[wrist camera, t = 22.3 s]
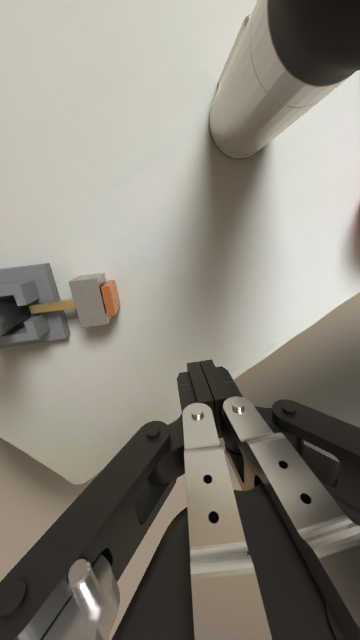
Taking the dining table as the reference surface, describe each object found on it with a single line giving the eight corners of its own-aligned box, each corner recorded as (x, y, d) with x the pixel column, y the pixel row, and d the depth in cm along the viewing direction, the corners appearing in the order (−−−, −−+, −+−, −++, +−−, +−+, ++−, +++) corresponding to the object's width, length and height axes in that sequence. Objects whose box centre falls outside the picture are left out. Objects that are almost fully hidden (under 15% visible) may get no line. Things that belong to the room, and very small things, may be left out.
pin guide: (79, 276, 37) (68, 281, 32) (104, 272, 37) (97, 278, 32) (90, 316, 39) (81, 328, 34) (113, 313, 40) (107, 324, 35)
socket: (-32, 272, 35) (-68, 279, 29) (49, 263, 36) (30, 267, 30) (-2, 343, 39) (-28, 361, 33) (70, 333, 40) (56, 349, 34)
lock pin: (114, 280, 37) (109, 286, 33) (120, 305, 39) (115, 315, 34) (37, 289, 37) (20, 297, 32) (46, 315, 38) (31, 326, 33)
